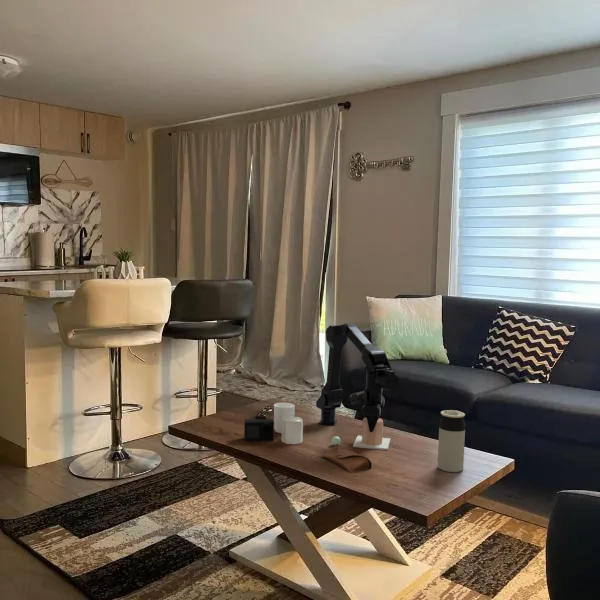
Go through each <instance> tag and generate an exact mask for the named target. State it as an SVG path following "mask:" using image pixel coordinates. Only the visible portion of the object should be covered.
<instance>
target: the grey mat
mask: <svg viewBox="0 0 600 600" xmlns="http://www.w3.org/2000/svg"><path fill="white" fill-rule="evenodd" d="M390 443H391V438H389V437H383V441H382V444H379V445H368V444H365V443H363V442H362V435H357V437H356V439H355V440H354V442H353V445H352V447H353V448H359V449H371V450H381V451H388V450H389V446H390Z"/></svg>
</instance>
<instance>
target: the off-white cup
mask: <svg viewBox="0 0 600 600" xmlns="http://www.w3.org/2000/svg"><path fill="white" fill-rule="evenodd" d="M303 435H304V420H303V418H302V417H299V416H294V417H285V418H283V421H282V433H281V442H283V444H286V445H287V444H288V445H298V444H301V443H302V442H303V441H304V439H303V438H304V437H303Z"/></svg>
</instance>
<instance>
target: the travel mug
mask: <svg viewBox="0 0 600 600" xmlns="http://www.w3.org/2000/svg"><path fill="white" fill-rule="evenodd" d="M440 415H441V419H440V421H439V426H438V444H437V445H438V447H437V449H438V451H437V468H438V469H440V470H442V471H444V472H447V473H460V472H461V471H463V470H464V463H465V462H464V461H465V459H464V458H465V437H466V436H465V435H466V423H465V420H464V417H465V416H466V413H464V412H462V411H460V410H453V409H449V410H448V409H447V410H442V411H440Z"/></svg>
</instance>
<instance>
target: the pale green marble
mask: <svg viewBox="0 0 600 600" xmlns="http://www.w3.org/2000/svg"><path fill="white" fill-rule="evenodd" d="M341 442H342V440H341V438H340V437H339V436H338V435H335V436H333V437H332V438H331V444H332V445H334V446H336V444H338V445H340V444H341Z"/></svg>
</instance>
